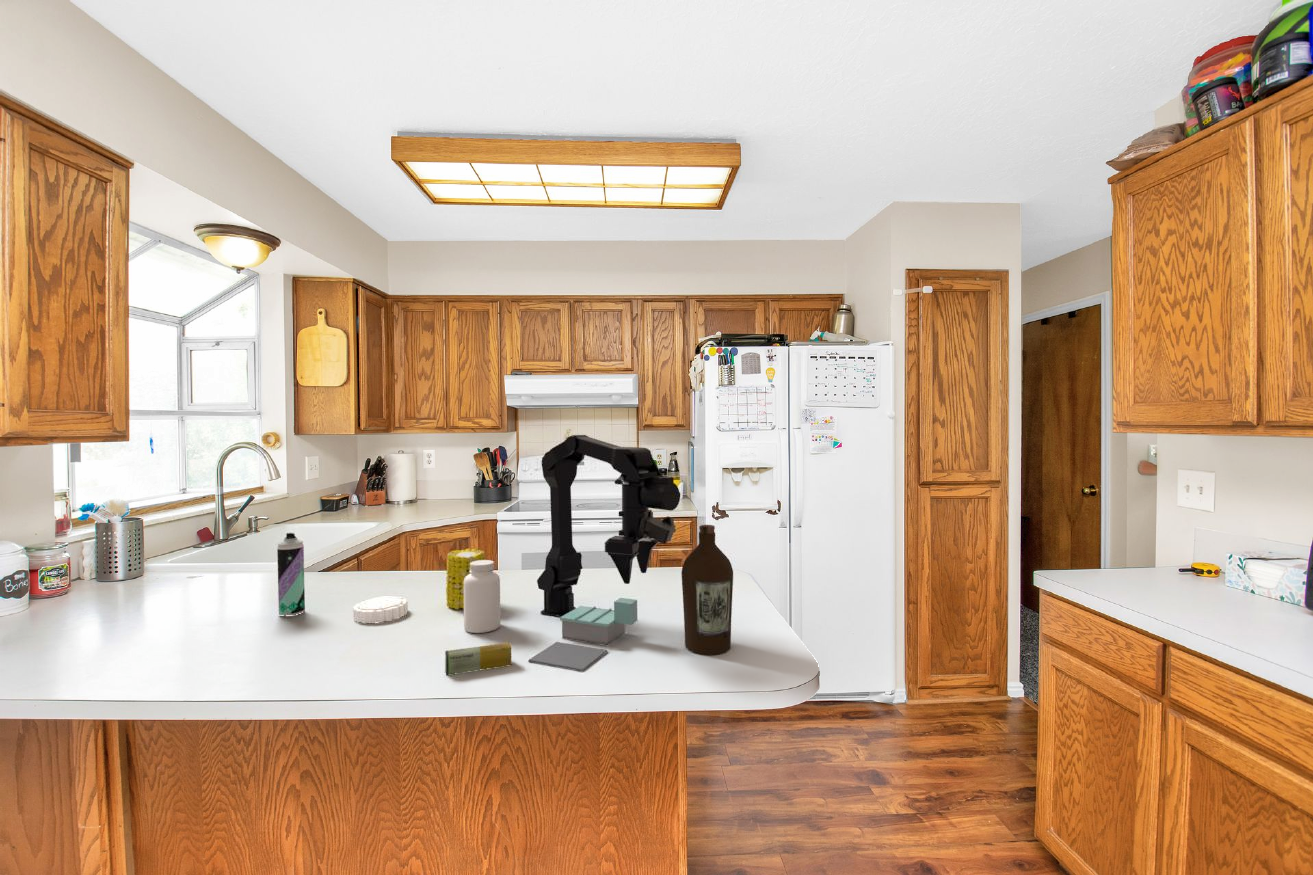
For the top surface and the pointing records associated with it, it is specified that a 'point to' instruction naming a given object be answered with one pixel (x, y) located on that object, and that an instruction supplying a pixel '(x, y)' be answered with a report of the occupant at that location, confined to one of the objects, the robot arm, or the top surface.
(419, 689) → the top surface
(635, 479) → the robot arm
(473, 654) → the medication box
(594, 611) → the lid
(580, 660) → the mat
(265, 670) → the top surface
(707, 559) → the olive oil
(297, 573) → the spray can
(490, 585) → the pill bottle
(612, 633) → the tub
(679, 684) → the top surface
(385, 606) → the mooncake
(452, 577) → the food
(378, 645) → the top surface
